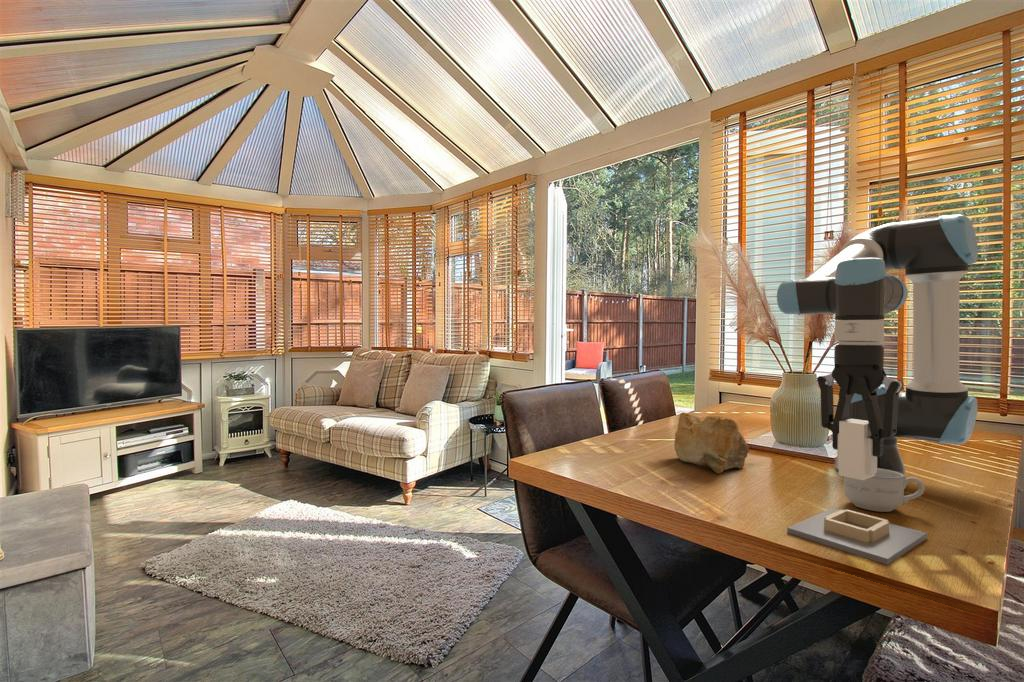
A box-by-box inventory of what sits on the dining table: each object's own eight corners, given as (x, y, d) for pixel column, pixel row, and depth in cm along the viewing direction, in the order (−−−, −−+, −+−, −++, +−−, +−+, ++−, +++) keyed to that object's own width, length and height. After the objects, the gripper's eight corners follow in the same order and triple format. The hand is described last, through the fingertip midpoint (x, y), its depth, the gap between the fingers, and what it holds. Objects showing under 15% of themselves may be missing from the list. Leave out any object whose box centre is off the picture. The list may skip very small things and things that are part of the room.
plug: (850, 470, 98) (851, 418, 97) (874, 475, 94) (875, 421, 94) (838, 475, 95) (839, 421, 94) (863, 480, 91) (863, 424, 91)
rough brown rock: (772, 479, 133) (775, 421, 133) (715, 478, 129) (719, 419, 130) (717, 460, 156) (720, 410, 156) (668, 458, 152) (671, 408, 152)
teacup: (836, 507, 110) (837, 470, 110) (849, 495, 117) (849, 461, 117) (919, 525, 100) (919, 484, 100) (927, 511, 108) (927, 473, 107)
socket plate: (831, 512, 107) (832, 498, 106) (927, 538, 93) (927, 522, 93) (787, 532, 96) (787, 517, 96) (887, 564, 83) (887, 546, 83)
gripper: (800, 342, 99) (798, 463, 99) (906, 345, 85) (904, 485, 85) (819, 342, 103) (817, 458, 104) (923, 344, 89) (920, 478, 90)
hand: (856, 470), depth 94 cm, fingers closed on plug, 4 cm apart
